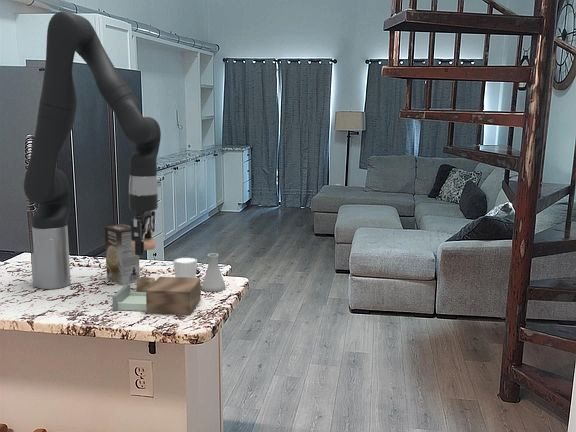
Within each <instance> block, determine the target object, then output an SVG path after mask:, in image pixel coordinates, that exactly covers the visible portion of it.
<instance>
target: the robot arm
mask: <svg viewBox="0 0 576 432" xmlns="http://www.w3.org/2000/svg"><path fill="white" fill-rule="evenodd" d="M45 49H46V50H45V53H46V55H45V65H44V73H43V78H42V79H43V81H42V87H41V94H40V98H39V104H38V112H37V118H36V125H35V126H36V127H35V132H34V136H33V144H32V151H31V153H30V154H31V155H30V158H29V161H28V166H27V168H26V172H25V177H24V180H23V191H24V194H25V196H26V198H27V199H28V200H29V201H30V202H31V203H33V204H36V205H38V207H37V211H36V212H35V213H34V214H33V215H32V216H31V217H32V218H31V232H32V245H33V252H32V253H31V254H30V261H31V262H30V265H31V266H30V267H31V279H32V288H33V287H34V288H38V289H42V290H55V289H60V288H65V287H67V286H69V285H70V284H71V267H70V266H71V265H70V249H69V248H70V247H69V246H70V245H69V234H68V233H69V232H68V227H69V226H68V218H69V217H70V216H69V215H70V210H71V209H70V207H71V206H70V203H71V201H70V198H71V197H70V194H71V191H70V184H69V183H70V182H69V180H68V177H67V175H66V174H65V172H63V171H62V170H61V169H59V168H57V164H58V160H59V156H60V153H61V151H62V150H63V147H64V145H65V143H66V142H67V140H68V138H69V137H70V134H71V133H72V131H73V128H74V124H75V120H76V119H75V118H76V115H77V114H76V113H77V106H78V99H77V98H78V97H77V92H76V87H75V83H74V78H73V64H74V60H75V54H78V56H80V58H82V60H83V61H84V62H85V64H87V66H88V68H89V69H90V71H91V74H92V75H93V79H94V82H95V84H96V88H97V89H98V91H99V93H100V95H101V97H102V98H103V99H104V101H105V102H106V104H107V106H108V107H110V109H111V110H112V112H113V113H114V115H115V118H116V120H117V122H118V124H119V127H120V129H121V132H123V134H124V136H125V137H126V138H127V140H129V141H130V142H132V143H133V144H135V149H134V150H135V151H134V152H133V153H131V154H130V157H129V181H128V208H129V210H131V211H135V213H134V214H135V215H134V218H131V219H130V226H131V239H132V241H135V254H136V255H139V256H144V255H145V250H144V238H152V237H153V234H154V233H155V231H156V228H155V227H156V222H155V221H156V210H157V209H158V207H159V206H158V204H159V203H158V194H159V193H158V192H159V191H158V190H159V188H158V187H159V186H158V184H159V183H158V177H157V176H158V175H157V174H158V173H157V171H158V170H157V169H158V166H157V165H158V163H157V159H158V155H159V154H158V153H159V151H160V144H161V138H162V137H161V136H162V133H161V131H162V130H161V127H160V124H159V122H158V121H157V120H156V118H153V117H150V116H143V115H142V113H141V111H140V109H139V108H138V107H139V102H138V99H137V97H136V96H135V94H134V93H133V91H132V90H131V88H130V87H129V86H128V84H127V83H126V82H125V80H124V79H123V77H122V76H121V75H120V73H119V72H118V70H117V68H116V67H115V65H114V64H113V63H112V61H111V60H112V59H110V58H109V55H108V54H107V52H106V50H105V47H104V46H103V45H102V42H101V40H100V38H99V36H98V34H97V32H96V30H95V28H94V26H93V25H92V23H91V22H90V20H88V19H87V18H86V17H84V16H82V15H79V14H76V13H72V12H70V11H66V10H65V11H64V10H63V11H62V10H60V11H57V12H56V13H54V15H52V16H51V18H50V20H49V22H48V25H47V33H46V47H45ZM134 233H135V234H134ZM138 234H139V237H138V236H137V235H138ZM152 239H153V238H152Z"/></svg>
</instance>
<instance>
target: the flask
mask: <svg viewBox="0 0 576 432" xmlns="http://www.w3.org/2000/svg"><path fill="white" fill-rule="evenodd" d="M207 258H208V264H207V269H206V272H205V276H204V278H203V281H202V284H201V285H200V289H201V291H205V292H210V293H211V292H222V291H223V290H225V289H226V284H225V281H224V278H223V276H222V272H221V269H220V267H219V260H218V259H219V253H213V252H212V253H207Z"/></svg>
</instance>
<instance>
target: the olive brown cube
mask: <svg viewBox="0 0 576 432" xmlns="http://www.w3.org/2000/svg"><path fill="white" fill-rule="evenodd" d="M155 281H156V278H155V277H147V276H143V277H142V276H141V277H140V278H139V279H138V280H137V281H136V282H135V283H136V285H135V286H136V292H145V293H146V290H147V289H148V288H149V287H150V286H151V285H152V284H153V283H154V282H155Z"/></svg>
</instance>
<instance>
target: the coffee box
mask: <svg viewBox="0 0 576 432" xmlns="http://www.w3.org/2000/svg"><path fill="white" fill-rule="evenodd" d="M134 234H135V233H134ZM137 236H138V237H139V234H138V235H137ZM131 240H132V239H131V225H129V224H125V223H119V224H115V225H113V224H112V225H108V226H104V243H105V267H106V279H107V280H110V281H111V282H114V283H116V284H119V285H122V286H125V285H126V284H133V283H136V281H137V280H138V279H139V278H141V277H140V276H141V274H140V273H141V271H140V267H141V266H140V255H136V254H135V249H132V248H131Z"/></svg>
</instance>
